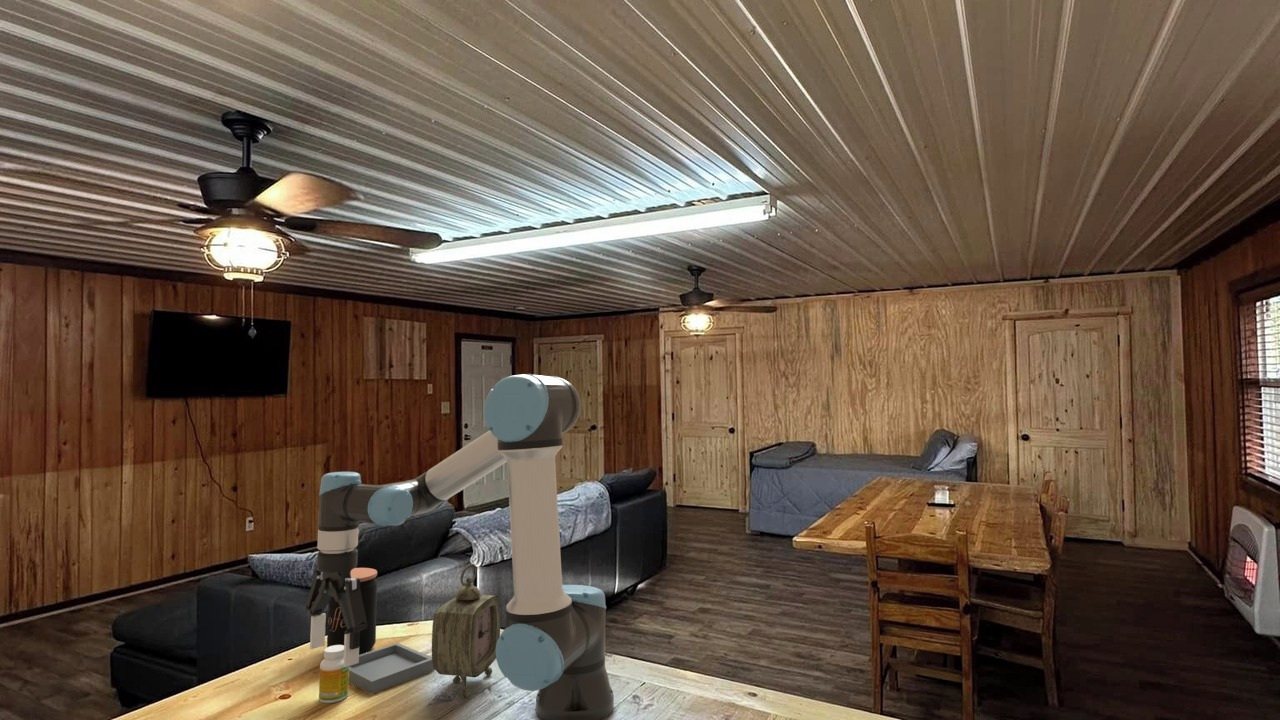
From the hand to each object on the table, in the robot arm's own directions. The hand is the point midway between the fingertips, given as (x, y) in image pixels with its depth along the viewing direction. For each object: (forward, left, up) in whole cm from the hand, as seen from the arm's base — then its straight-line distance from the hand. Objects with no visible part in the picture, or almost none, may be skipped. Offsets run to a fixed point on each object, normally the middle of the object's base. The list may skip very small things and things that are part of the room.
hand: (333, 655), depth 132 cm
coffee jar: (+21, -15, -8) cm, 27 cm away
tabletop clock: (-16, -20, -8) cm, 27 cm away
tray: (+3, -13, -8) cm, 16 cm away
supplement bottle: (0, 0, -8) cm, 8 cm away
